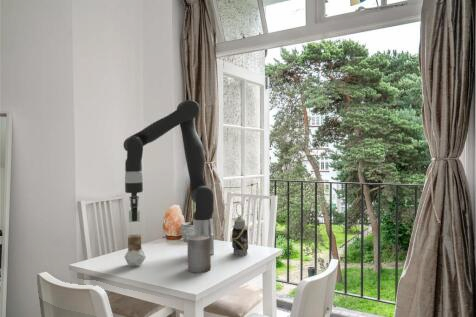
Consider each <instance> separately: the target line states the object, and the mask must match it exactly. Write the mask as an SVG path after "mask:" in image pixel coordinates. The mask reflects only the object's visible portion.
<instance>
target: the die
mask: <svg viewBox="0 0 476 317" xmlns="http://www.w3.org/2000/svg"><path fill="white" fill-rule="evenodd" d="M123 257H124V259H125V261H126V264H127V267H131V268H133V267H142V265H143V263H144V261H145V259H146V254H145V252H144V249H143V247H142V246H141V249H139V250H128V249H127V251H126V253H125V255H124V256H123Z"/></svg>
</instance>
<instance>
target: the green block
mask: <svg viewBox="0 0 476 317" xmlns="http://www.w3.org/2000/svg"><path fill="white" fill-rule="evenodd" d="M140 218H141V216H140V209H138V212H137V221H132V212H131V209H129V210H128V222H129V223H135V222H136V223H139V222H140V221H141V219H140Z"/></svg>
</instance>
